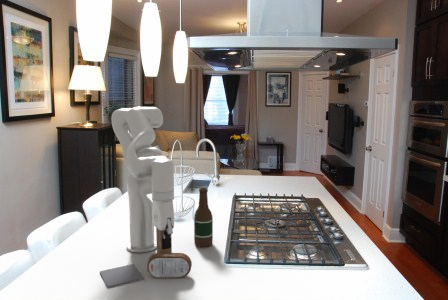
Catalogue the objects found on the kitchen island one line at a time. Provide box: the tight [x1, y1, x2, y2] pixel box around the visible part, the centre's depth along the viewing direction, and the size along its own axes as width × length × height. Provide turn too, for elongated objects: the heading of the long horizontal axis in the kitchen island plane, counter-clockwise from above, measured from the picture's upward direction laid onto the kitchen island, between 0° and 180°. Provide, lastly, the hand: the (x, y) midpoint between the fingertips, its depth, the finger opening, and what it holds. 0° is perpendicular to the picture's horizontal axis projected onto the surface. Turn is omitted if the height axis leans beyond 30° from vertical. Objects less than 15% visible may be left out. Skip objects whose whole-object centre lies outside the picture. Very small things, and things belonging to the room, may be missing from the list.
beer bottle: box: [193, 187, 214, 249], centre depth 151 cm, size 8×8×24 cm
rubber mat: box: [99, 263, 145, 289], centre depth 125 cm, size 12×12×1 cm
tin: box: [146, 252, 193, 279], centre depth 124 cm, size 15×3×8 cm, turn 92°
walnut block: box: [155, 227, 173, 253], centre depth 127 cm, size 4×4×11 cm
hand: (164, 245), depth 127 cm, fingers closed on walnut block, 4 cm apart
